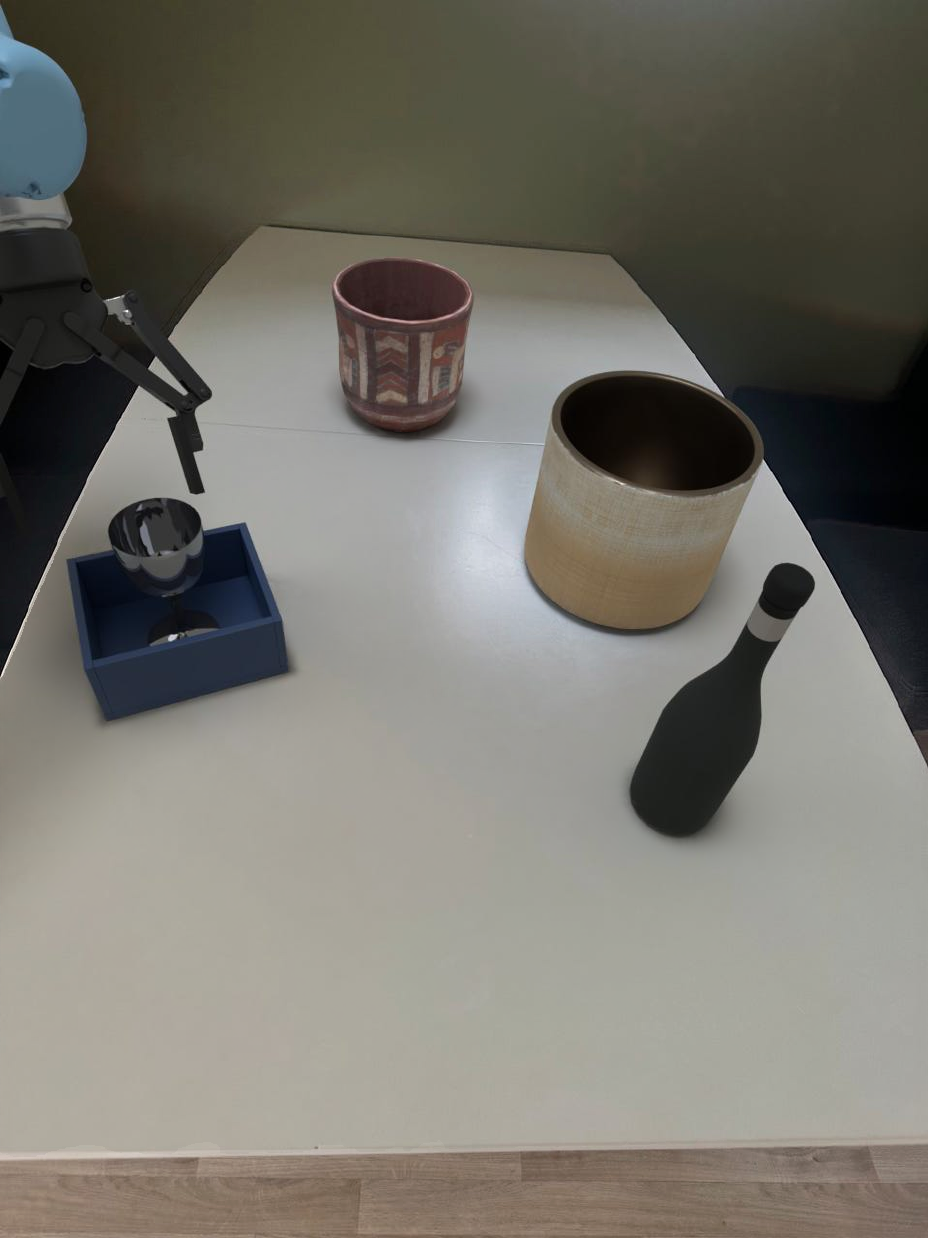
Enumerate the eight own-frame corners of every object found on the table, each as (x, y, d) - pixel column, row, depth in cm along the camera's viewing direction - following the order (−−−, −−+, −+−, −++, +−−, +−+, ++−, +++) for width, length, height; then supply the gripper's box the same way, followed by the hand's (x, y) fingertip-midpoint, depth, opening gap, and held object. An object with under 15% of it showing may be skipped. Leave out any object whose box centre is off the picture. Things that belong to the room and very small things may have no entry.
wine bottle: (638, 751, 79) (743, 522, 56) (718, 780, 77) (858, 556, 55) (619, 819, 73) (725, 597, 51) (703, 852, 72) (851, 637, 50)
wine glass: (151, 674, 78) (114, 566, 67) (137, 617, 83) (101, 507, 72) (232, 653, 81) (210, 545, 70) (215, 599, 86) (191, 490, 75)
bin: (106, 721, 76) (83, 669, 70) (87, 613, 84) (65, 558, 78) (288, 671, 81) (282, 619, 76) (253, 575, 90) (245, 521, 84)
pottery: (353, 454, 106) (351, 328, 93) (325, 382, 117) (319, 259, 103) (478, 438, 111) (493, 315, 97) (440, 370, 122) (448, 251, 108)
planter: (743, 598, 94) (813, 460, 79) (594, 664, 86) (641, 523, 71) (627, 489, 106) (669, 351, 91) (487, 537, 97) (508, 393, 83)
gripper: (179, 228, 68) (248, 475, 74) (-169, 267, 57) (-51, 551, 64) (198, 206, 61) (272, 478, 68) (-190, 245, 51) (-56, 563, 57)
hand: (116, 514), depth 66 cm, fingers open, 13 cm apart
